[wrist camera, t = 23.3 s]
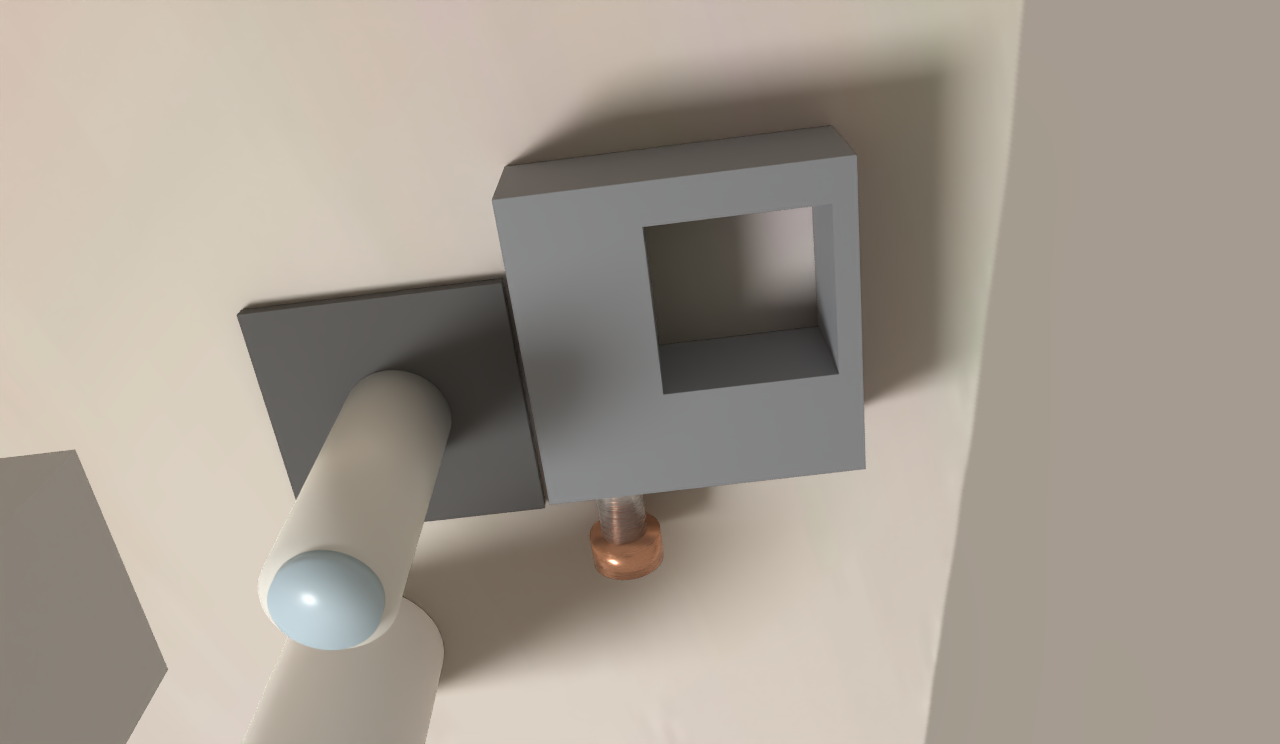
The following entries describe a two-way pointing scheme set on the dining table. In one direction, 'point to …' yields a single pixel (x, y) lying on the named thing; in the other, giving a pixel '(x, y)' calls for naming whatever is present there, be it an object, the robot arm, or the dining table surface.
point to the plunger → (625, 538)
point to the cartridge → (358, 515)
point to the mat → (417, 343)
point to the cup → (354, 689)
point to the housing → (690, 371)
